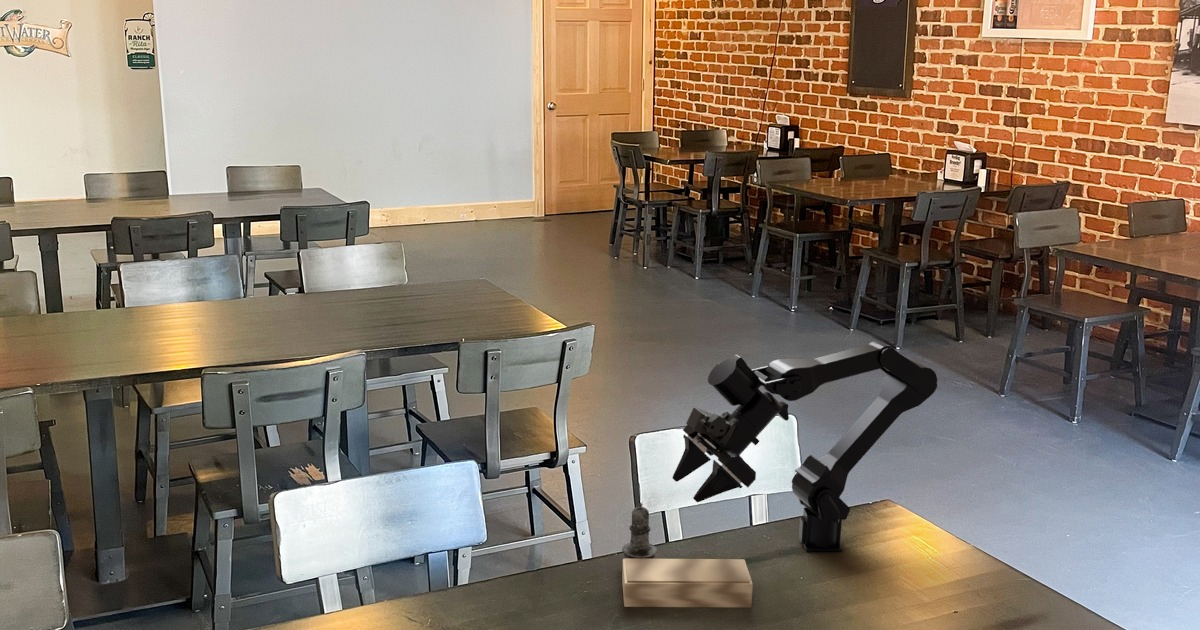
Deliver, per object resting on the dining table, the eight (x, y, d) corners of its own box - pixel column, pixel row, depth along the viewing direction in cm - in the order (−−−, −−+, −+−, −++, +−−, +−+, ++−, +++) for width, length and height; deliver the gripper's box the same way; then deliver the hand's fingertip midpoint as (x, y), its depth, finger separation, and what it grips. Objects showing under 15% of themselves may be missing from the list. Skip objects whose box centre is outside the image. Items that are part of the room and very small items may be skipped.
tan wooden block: (743, 581, 177) (744, 558, 176) (751, 607, 169) (752, 582, 168) (622, 581, 177) (622, 557, 176) (624, 606, 168) (624, 581, 167)
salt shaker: (638, 557, 185) (640, 492, 182) (663, 569, 181) (665, 502, 178) (614, 568, 181) (615, 502, 178) (639, 580, 177) (641, 512, 174)
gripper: (695, 376, 187) (634, 442, 186) (741, 409, 169) (674, 482, 169) (734, 415, 191) (675, 480, 190) (783, 451, 174) (718, 522, 173)
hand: (684, 489), depth 180 cm, fingers open, 9 cm apart
